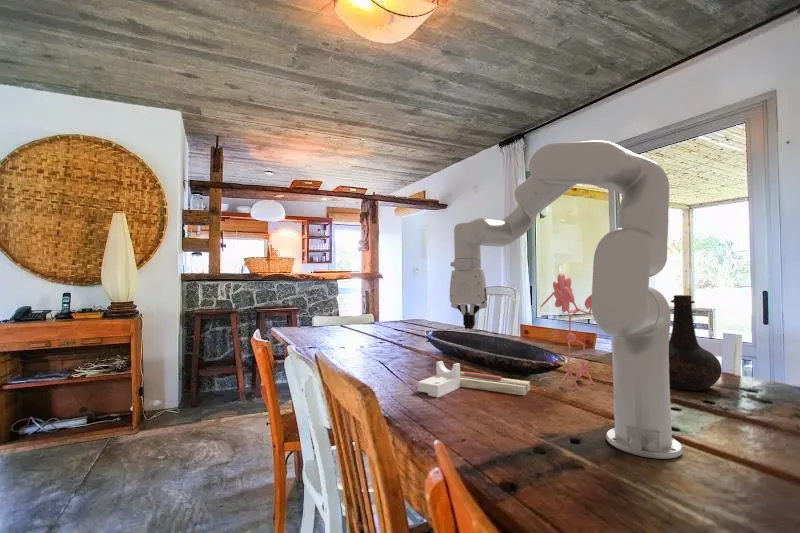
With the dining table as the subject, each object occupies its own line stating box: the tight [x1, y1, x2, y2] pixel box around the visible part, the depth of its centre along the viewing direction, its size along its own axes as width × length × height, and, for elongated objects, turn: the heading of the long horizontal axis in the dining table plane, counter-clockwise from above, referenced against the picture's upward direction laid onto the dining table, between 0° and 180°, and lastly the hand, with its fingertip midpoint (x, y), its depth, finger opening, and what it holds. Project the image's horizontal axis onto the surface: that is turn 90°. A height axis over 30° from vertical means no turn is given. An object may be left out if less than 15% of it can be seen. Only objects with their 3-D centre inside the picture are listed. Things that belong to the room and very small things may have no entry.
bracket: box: [417, 360, 461, 398], centre depth 116 cm, size 13×7×8 cm, turn 142°
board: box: [460, 374, 531, 396], centre depth 118 cm, size 7×24×2 cm, turn 59°
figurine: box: [537, 273, 606, 390], centre depth 123 cm, size 15×26×35 cm, turn 127°
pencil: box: [460, 370, 503, 381], centre depth 121 cm, size 14×1×1 cm, turn 54°
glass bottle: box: [669, 294, 723, 392], centre depth 117 cm, size 18×18×28 cm
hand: (469, 328), depth 110 cm, fingers closed
